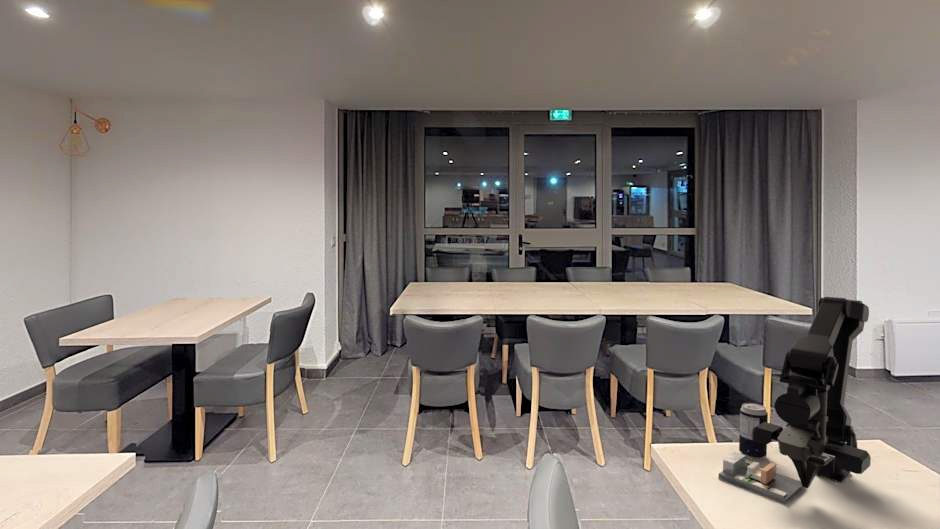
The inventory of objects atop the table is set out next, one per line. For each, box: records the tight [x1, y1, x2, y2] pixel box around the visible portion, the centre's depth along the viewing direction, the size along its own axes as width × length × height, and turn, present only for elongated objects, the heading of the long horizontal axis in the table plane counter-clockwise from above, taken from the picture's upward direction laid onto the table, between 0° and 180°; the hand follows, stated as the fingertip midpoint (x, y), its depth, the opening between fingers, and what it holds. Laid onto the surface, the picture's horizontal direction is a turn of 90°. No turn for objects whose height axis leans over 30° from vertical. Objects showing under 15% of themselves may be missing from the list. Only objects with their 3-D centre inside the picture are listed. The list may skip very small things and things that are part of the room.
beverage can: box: [738, 402, 769, 460], centre depth 115 cm, size 6×6×12 cm
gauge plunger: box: [746, 461, 777, 484], centre depth 103 cm, size 7×4×3 cm, turn 128°
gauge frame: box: [718, 451, 805, 505], centre depth 103 cm, size 10×13×4 cm
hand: (805, 487), depth 97 cm, fingers closed
